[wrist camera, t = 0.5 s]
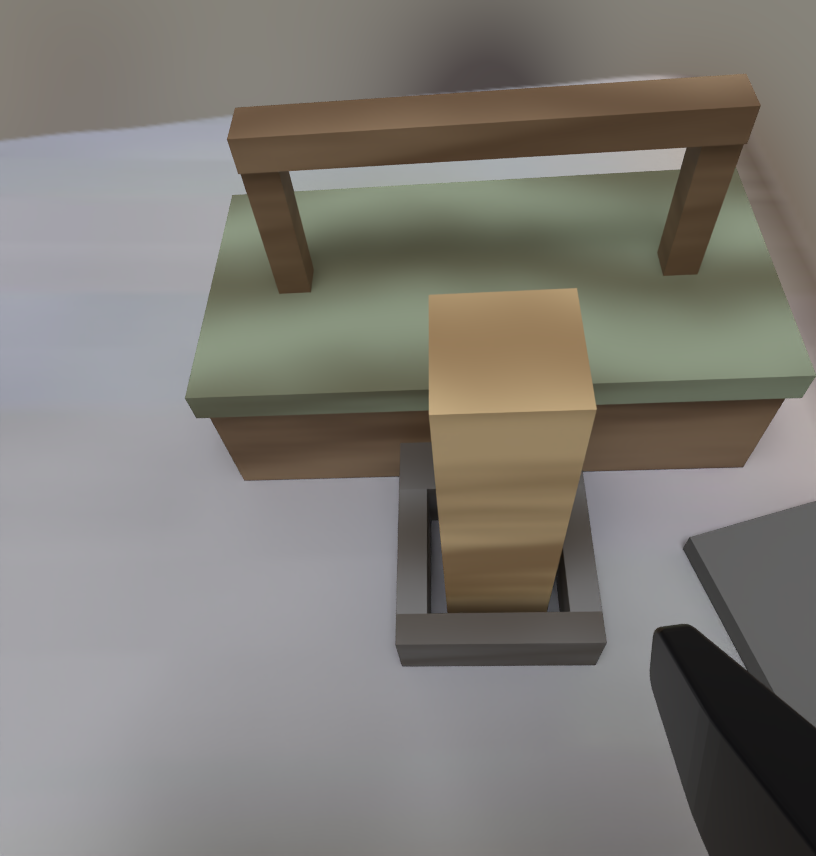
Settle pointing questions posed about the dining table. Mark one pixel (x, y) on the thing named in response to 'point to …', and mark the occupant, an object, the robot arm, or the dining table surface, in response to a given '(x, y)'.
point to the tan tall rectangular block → (506, 440)
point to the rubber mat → (767, 597)
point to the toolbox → (494, 272)
